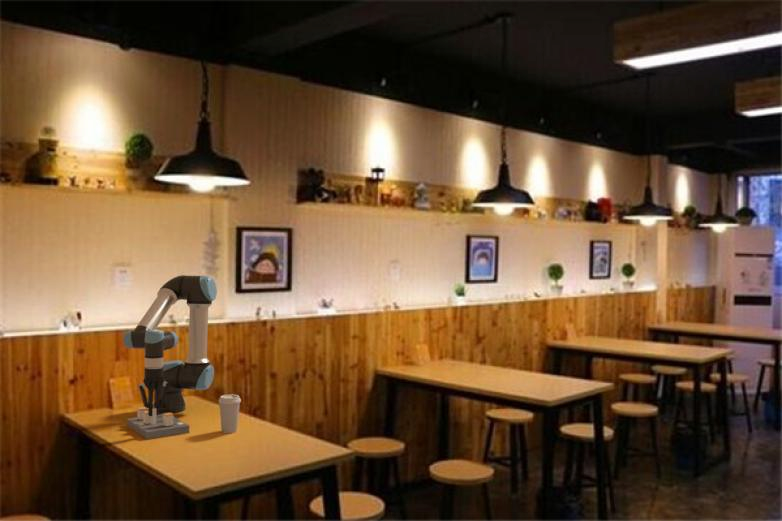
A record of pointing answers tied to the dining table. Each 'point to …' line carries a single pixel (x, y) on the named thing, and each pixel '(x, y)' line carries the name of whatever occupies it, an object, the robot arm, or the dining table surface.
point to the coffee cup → (229, 412)
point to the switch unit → (157, 427)
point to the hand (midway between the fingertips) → (153, 423)
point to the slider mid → (146, 417)
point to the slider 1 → (140, 412)
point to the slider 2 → (167, 419)
